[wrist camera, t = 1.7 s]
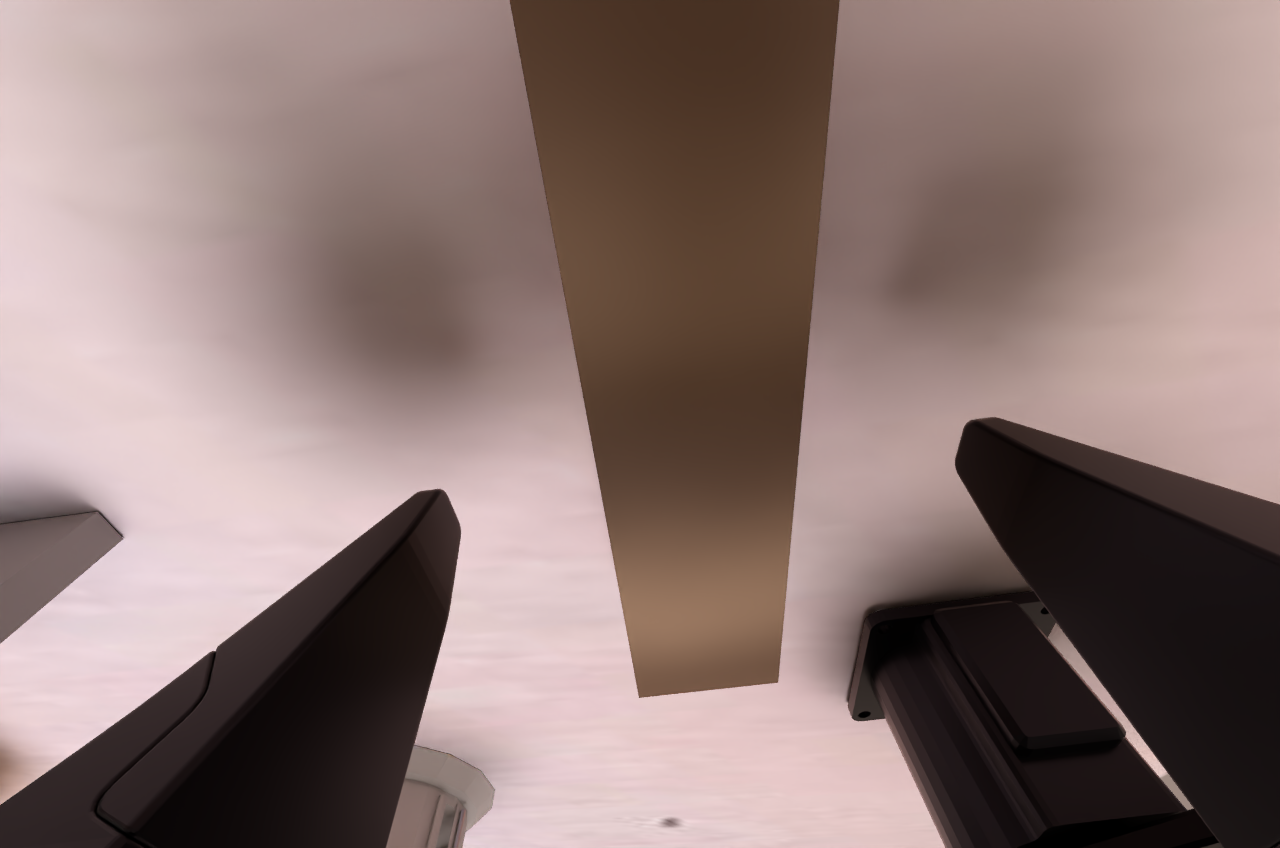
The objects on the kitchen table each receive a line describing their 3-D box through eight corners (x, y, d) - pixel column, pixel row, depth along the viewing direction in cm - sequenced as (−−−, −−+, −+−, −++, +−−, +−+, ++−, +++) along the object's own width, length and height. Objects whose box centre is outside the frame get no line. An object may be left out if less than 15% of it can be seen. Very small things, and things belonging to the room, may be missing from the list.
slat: (740, 560, 16) (778, 682, 12) (632, 572, 16) (639, 697, 12) (749, -20, 8) (849, -123, 5) (542, 5, 8) (494, -80, 5)
